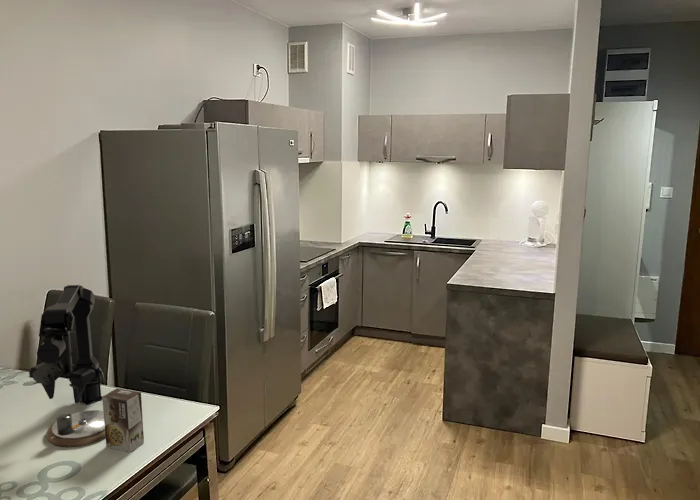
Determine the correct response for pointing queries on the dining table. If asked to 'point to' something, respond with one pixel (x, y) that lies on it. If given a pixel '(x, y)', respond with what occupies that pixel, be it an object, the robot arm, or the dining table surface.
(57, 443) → the dial base
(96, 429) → the dial
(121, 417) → the coffee box
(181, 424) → the dining table surface
